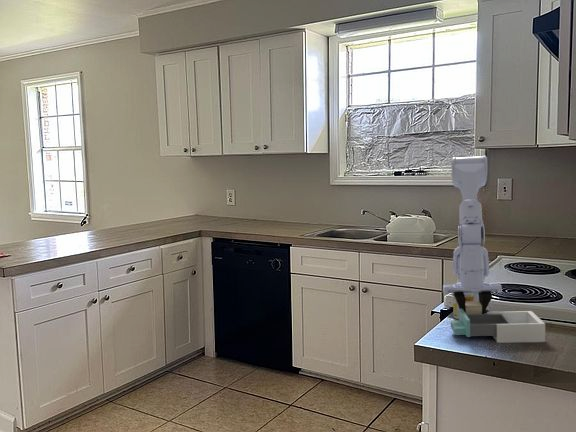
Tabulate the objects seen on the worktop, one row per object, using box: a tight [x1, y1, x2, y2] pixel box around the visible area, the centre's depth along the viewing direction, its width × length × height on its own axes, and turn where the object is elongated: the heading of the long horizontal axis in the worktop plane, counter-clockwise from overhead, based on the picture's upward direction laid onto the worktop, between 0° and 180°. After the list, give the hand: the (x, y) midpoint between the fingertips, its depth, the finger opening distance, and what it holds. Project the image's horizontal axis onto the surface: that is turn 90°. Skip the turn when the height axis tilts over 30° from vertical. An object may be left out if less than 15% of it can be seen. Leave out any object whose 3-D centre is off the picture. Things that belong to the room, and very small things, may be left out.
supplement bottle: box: [452, 282, 474, 320], centre depth 149 cm, size 5×5×10 cm
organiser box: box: [486, 310, 546, 344], centre depth 134 cm, size 10×11×4 cm
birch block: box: [465, 301, 482, 315], centre depth 143 cm, size 4×4×6 cm
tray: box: [450, 309, 510, 338], centre depth 135 cm, size 9×13×4 cm
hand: (472, 319), depth 143 cm, fingers closed on birch block, 4 cm apart
